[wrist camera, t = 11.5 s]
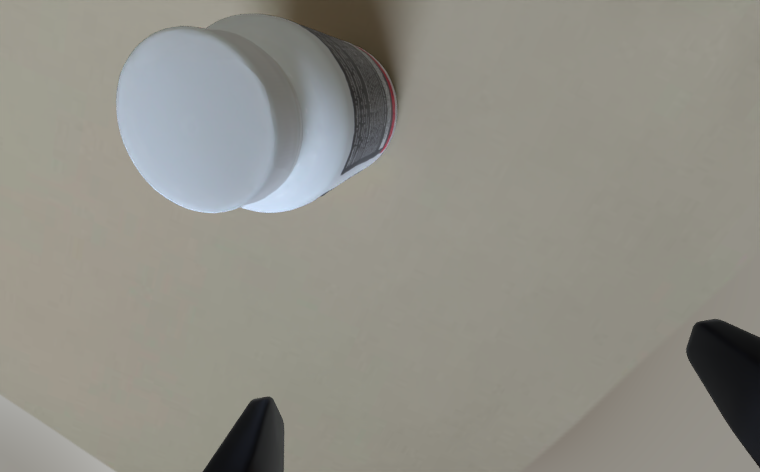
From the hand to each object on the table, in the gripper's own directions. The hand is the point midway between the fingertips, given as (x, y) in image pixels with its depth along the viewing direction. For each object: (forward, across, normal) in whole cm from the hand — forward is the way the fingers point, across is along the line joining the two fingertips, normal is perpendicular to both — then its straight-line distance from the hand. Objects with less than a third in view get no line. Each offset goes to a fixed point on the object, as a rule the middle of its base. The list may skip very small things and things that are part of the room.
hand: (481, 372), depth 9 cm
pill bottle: (+13, +3, -3) cm, 13 cm away
